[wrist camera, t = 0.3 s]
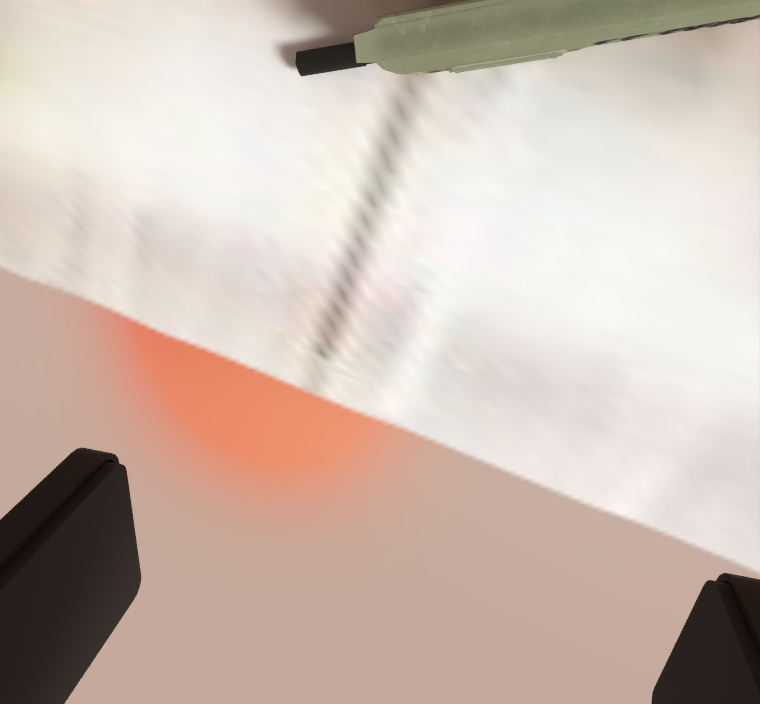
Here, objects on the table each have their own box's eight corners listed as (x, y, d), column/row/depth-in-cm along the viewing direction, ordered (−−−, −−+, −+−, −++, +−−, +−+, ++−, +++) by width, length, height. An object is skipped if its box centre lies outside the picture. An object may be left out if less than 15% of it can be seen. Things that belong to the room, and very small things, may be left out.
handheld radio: (770, 25, 31) (309, 96, 36) (778, -50, 30) (299, 35, 35) (834, 12, 25) (271, 99, 30) (847, -83, 24) (257, 26, 29)
